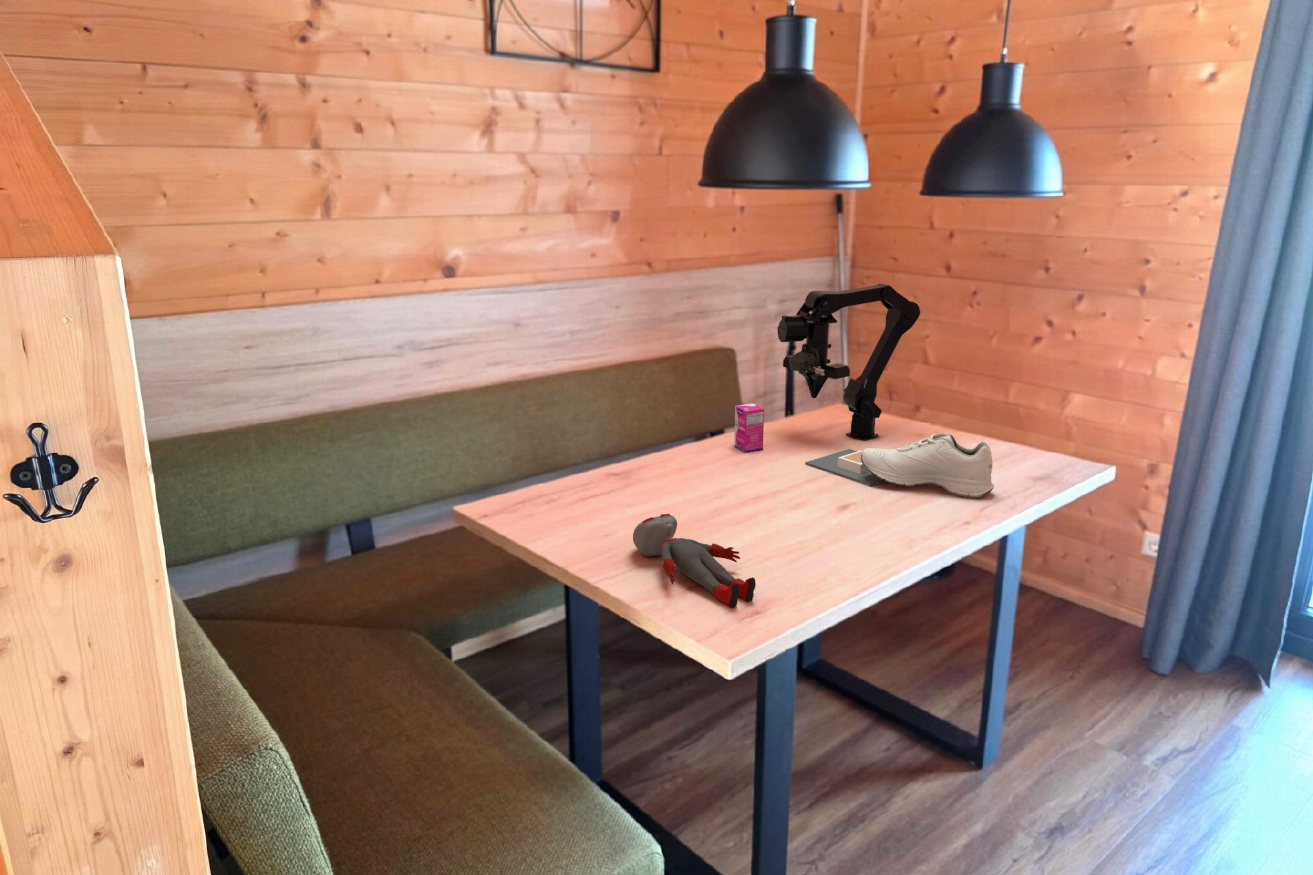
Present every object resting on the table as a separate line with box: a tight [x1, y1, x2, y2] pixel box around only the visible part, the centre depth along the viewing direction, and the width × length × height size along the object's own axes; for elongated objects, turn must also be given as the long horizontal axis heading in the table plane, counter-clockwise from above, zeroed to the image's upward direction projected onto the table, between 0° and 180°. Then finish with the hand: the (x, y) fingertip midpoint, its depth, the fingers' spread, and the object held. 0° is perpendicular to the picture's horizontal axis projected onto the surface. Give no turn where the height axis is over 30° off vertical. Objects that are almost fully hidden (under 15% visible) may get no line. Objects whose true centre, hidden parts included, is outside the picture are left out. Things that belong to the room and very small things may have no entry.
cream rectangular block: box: [837, 449, 868, 474], centre depth 225 cm, size 9×2×7 cm
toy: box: [632, 513, 757, 609], centre depth 169 cm, size 16×10×30 cm
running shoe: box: [861, 433, 995, 499], centre depth 212 cm, size 11×30×13 cm, turn 72°
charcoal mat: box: [804, 448, 885, 487], centre depth 226 cm, size 17×20×1 cm
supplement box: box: [733, 402, 765, 454], centre depth 239 cm, size 6×6×12 cm
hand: (814, 397), depth 244 cm, fingers closed
